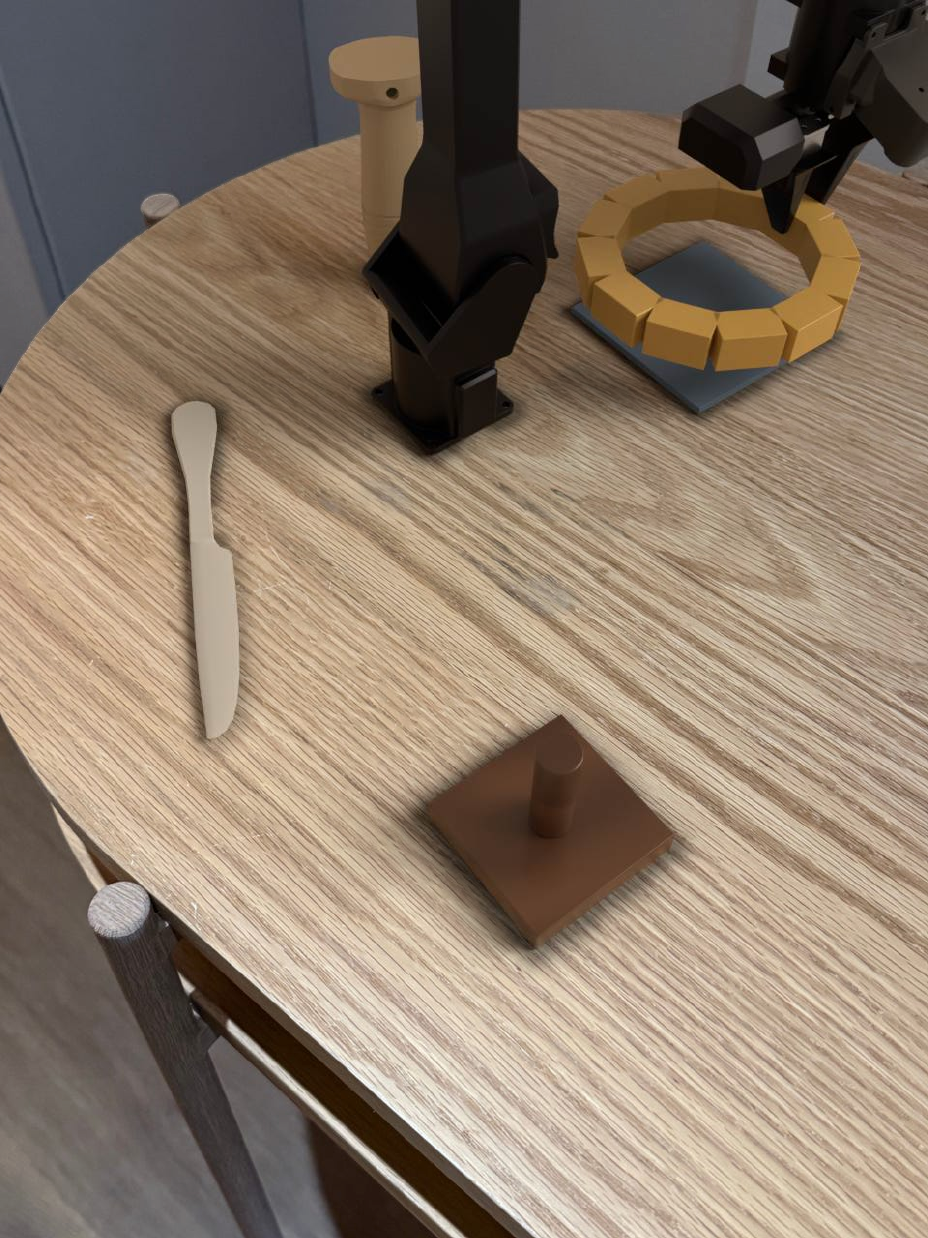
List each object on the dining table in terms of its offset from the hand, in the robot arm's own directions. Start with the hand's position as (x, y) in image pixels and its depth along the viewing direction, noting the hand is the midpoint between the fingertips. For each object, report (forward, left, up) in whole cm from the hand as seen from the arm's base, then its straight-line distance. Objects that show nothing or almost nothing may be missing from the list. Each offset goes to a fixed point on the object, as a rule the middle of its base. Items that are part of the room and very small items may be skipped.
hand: (793, 223), depth 74 cm
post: (+22, -38, -5) cm, 44 cm away
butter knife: (-2, -43, -5) cm, 43 cm away
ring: (0, -7, -1) cm, 7 cm away
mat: (0, -7, -5) cm, 9 cm away
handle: (-16, -20, -5) cm, 26 cm away
